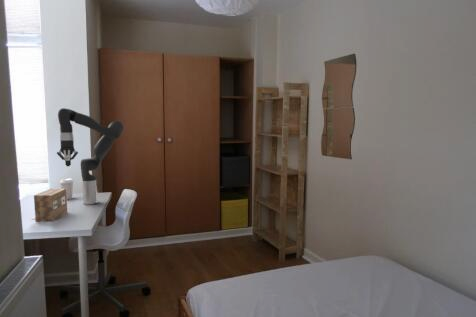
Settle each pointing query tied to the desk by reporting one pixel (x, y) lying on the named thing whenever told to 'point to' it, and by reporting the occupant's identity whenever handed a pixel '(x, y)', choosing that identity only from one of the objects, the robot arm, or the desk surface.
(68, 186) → the coffee cup
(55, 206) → the key two
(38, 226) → the desk surface
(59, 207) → the brown piece
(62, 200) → the key one
